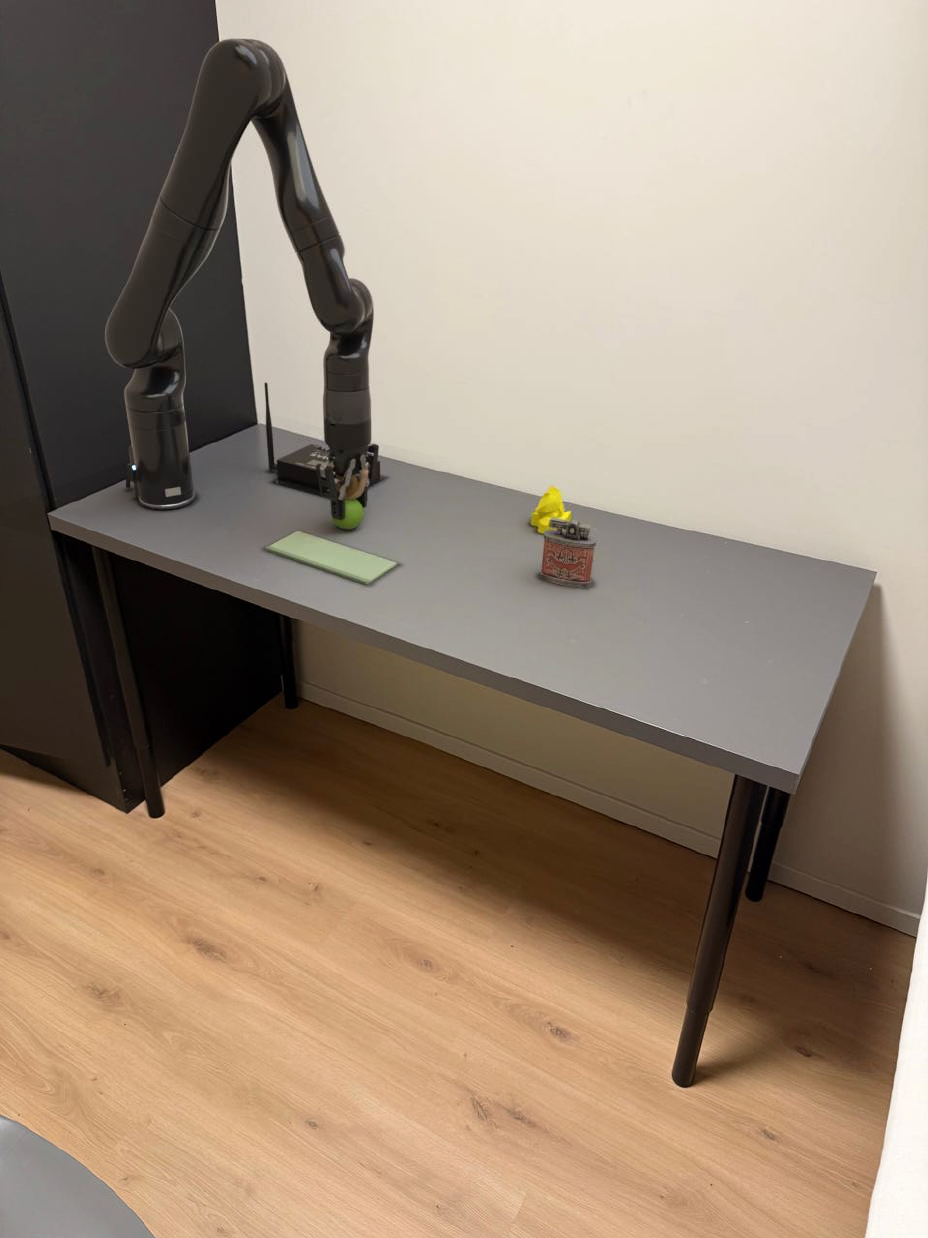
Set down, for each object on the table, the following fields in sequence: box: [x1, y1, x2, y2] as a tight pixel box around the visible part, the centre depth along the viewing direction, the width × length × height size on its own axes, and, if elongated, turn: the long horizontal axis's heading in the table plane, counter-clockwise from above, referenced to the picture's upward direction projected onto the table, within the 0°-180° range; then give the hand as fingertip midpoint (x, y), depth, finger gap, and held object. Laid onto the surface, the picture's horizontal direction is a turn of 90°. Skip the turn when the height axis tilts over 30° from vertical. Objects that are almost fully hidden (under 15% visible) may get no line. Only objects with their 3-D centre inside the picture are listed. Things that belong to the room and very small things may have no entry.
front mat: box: [264, 530, 398, 586], centre depth 146 cm, size 20×8×1 cm, turn 59°
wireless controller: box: [263, 382, 385, 497], centre depth 169 cm, size 20×14×17 cm
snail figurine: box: [330, 462, 369, 530], centre depth 152 cm, size 5×6×12 cm
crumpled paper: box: [530, 485, 572, 535], centre depth 158 cm, size 6×8×8 cm
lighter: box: [539, 518, 597, 589], centre depth 140 cm, size 8×3×10 cm, turn 71°
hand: (349, 512), depth 153 cm, fingers closed on snail figurine, 5 cm apart
